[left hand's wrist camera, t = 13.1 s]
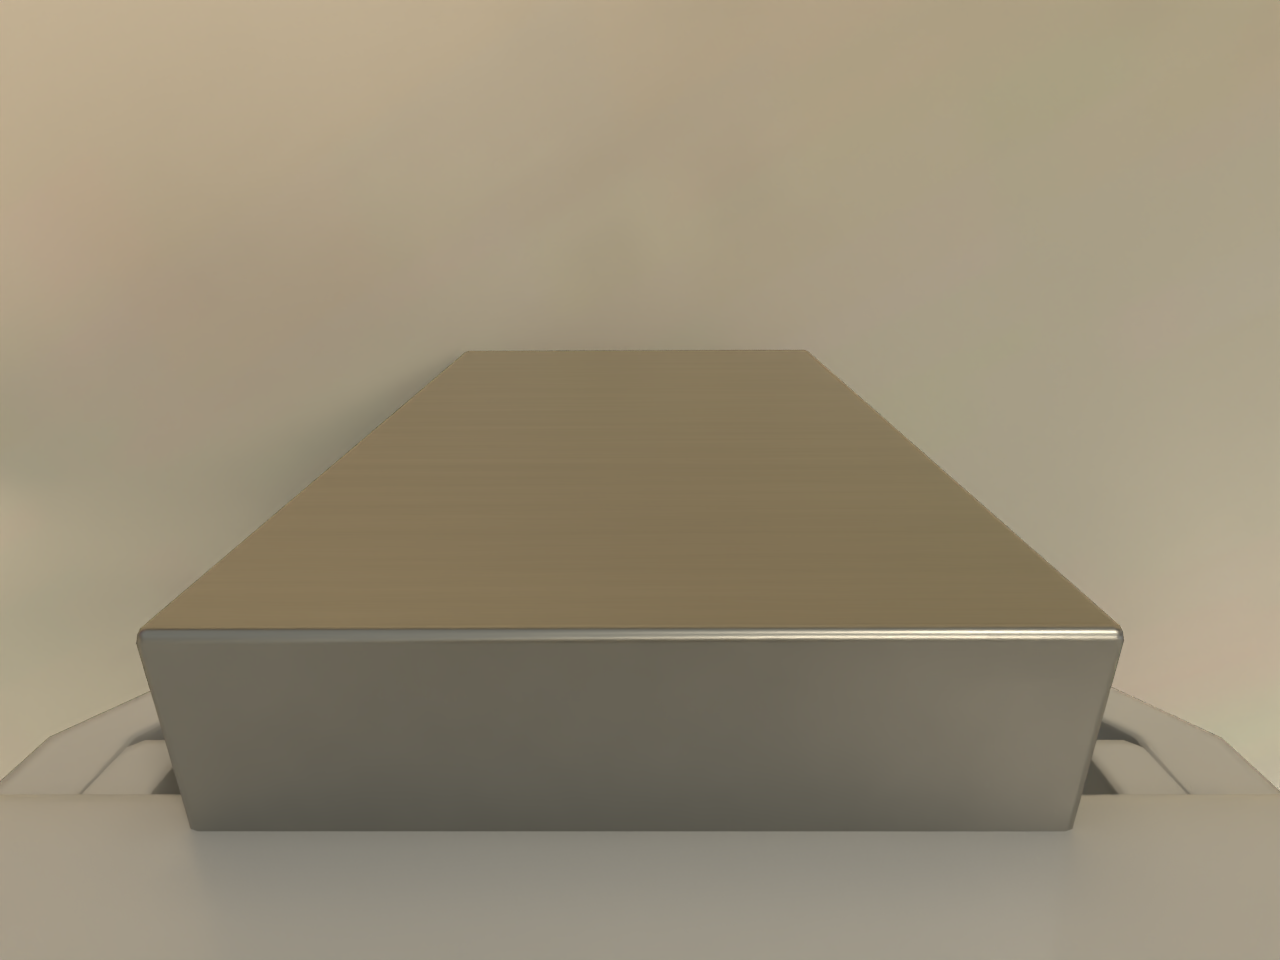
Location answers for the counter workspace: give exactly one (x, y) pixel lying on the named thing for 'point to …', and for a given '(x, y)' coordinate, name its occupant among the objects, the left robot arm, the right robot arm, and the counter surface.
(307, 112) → the counter surface
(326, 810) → the box
